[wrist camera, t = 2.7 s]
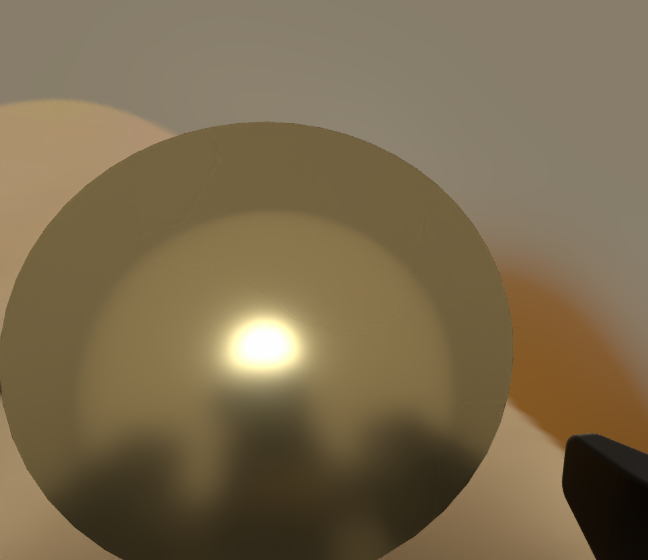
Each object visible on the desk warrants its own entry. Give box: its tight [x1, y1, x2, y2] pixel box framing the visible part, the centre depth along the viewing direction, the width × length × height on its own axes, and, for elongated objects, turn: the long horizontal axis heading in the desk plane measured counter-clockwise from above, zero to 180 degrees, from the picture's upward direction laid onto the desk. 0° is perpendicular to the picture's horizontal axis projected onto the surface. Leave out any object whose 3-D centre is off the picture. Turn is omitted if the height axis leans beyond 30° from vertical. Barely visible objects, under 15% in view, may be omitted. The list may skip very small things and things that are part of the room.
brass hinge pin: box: [0, 122, 513, 560], centre depth 10 cm, size 4×4×13 cm
